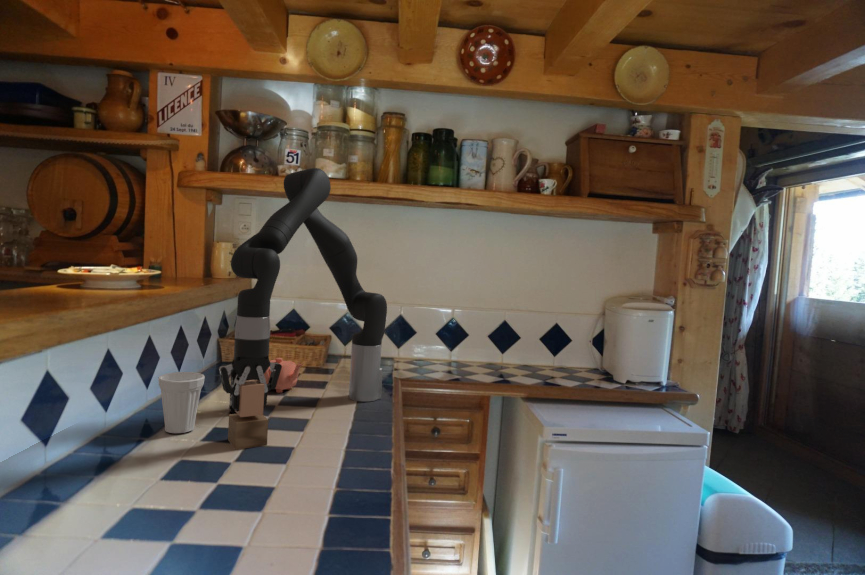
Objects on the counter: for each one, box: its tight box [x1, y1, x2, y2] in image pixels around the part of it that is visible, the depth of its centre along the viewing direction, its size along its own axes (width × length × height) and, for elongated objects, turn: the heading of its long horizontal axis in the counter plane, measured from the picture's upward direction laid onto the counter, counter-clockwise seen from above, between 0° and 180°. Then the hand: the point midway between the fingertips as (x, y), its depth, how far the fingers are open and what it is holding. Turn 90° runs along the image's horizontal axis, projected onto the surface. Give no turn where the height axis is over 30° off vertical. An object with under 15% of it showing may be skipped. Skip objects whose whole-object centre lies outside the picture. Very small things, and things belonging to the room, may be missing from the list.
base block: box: [227, 413, 269, 450], centre depth 119 cm, size 7×7×6 cm
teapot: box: [264, 357, 304, 394], centre depth 166 cm, size 14×12×10 cm
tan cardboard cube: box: [235, 380, 265, 417], centre depth 119 cm, size 5×5×7 cm
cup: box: [158, 371, 206, 434], centre depth 124 cm, size 10×10×13 cm
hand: (249, 408), depth 119 cm, fingers closed on tan cardboard cube, 5 cm apart
